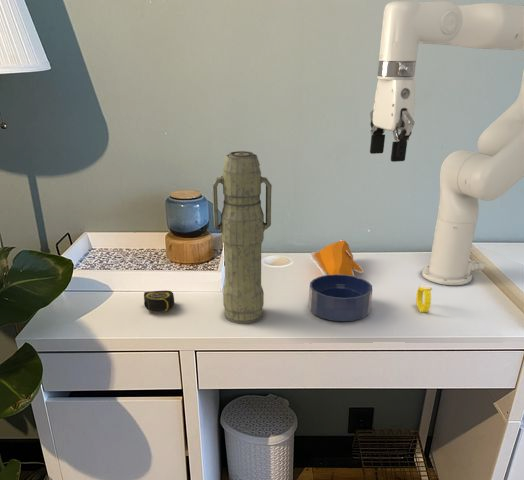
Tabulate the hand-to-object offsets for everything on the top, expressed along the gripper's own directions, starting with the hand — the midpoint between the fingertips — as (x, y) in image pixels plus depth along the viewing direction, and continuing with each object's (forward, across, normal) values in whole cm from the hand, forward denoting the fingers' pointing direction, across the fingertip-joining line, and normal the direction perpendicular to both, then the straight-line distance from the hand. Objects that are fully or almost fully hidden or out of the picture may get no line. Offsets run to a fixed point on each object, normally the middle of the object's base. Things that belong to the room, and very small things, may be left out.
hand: (386, 157), depth 124 cm
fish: (+32, +9, +6) cm, 34 cm away
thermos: (+32, -6, +35) cm, 48 cm away
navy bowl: (+32, -9, +13) cm, 36 cm away
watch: (+32, -14, -5) cm, 35 cm away
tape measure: (+32, +4, +53) cm, 62 cm away
